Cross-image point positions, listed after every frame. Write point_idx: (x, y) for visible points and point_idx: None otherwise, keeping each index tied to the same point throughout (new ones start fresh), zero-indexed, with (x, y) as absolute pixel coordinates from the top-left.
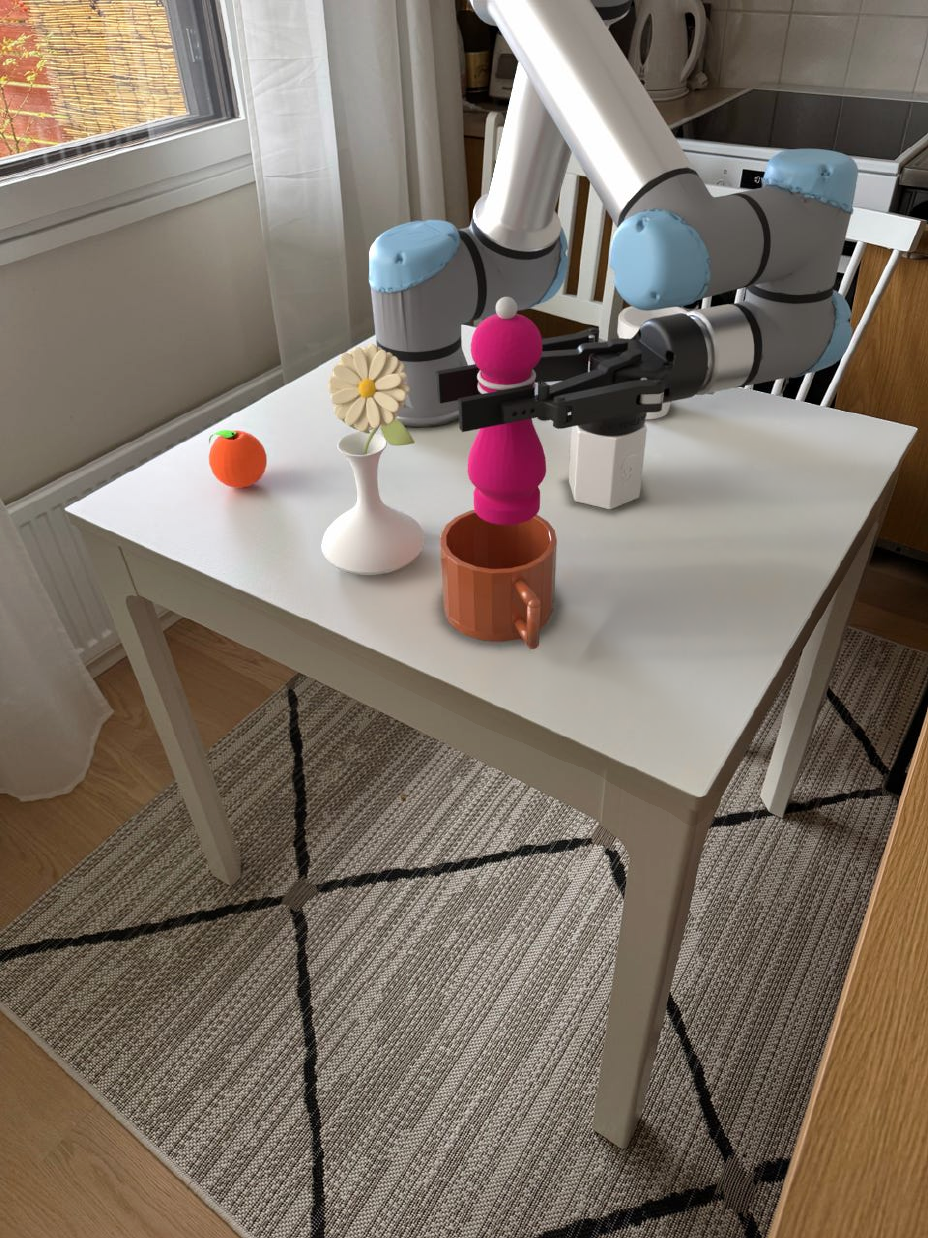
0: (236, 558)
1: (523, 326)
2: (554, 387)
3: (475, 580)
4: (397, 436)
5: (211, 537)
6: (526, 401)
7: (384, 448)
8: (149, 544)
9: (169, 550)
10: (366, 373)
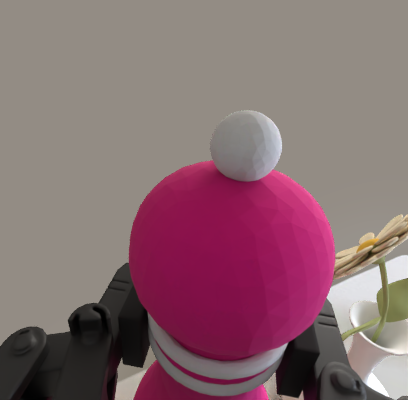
0: (342, 306)
1: (176, 193)
2: (84, 368)
3: None
4: (353, 330)
5: (374, 301)
6: (112, 302)
7: (368, 342)
8: (367, 271)
9: (358, 277)
10: (384, 235)
